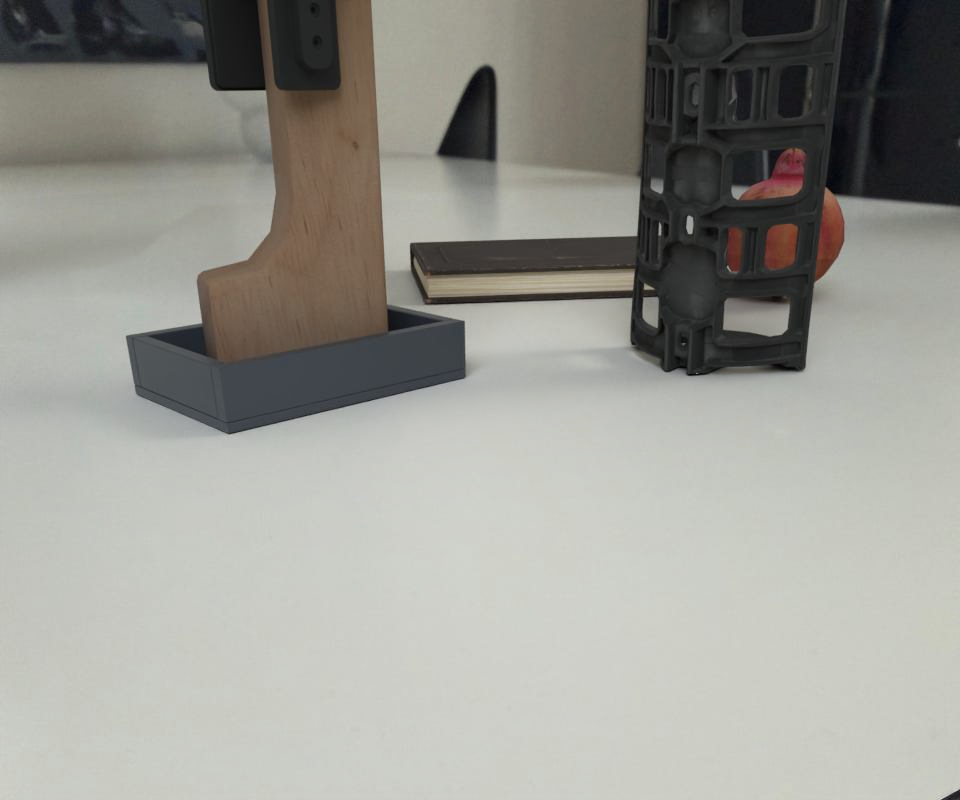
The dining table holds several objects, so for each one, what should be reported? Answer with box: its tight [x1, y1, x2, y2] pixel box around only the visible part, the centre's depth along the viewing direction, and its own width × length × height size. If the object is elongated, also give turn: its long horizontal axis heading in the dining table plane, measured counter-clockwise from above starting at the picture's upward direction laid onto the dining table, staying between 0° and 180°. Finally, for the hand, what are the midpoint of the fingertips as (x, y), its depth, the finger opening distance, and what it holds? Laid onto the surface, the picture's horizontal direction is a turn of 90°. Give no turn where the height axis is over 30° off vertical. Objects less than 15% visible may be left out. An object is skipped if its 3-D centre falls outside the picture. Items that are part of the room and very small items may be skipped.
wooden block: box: [196, 0, 388, 363], centre depth 49 cm, size 9×4×18 cm, turn 111°
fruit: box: [727, 148, 845, 302], centre depth 71 cm, size 8×8×10 cm
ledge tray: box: [125, 303, 467, 434], centre depth 53 cm, size 10×15×3 cm, turn 132°
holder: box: [629, 0, 848, 375], centre depth 52 cm, size 11×8×20 cm
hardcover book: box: [409, 234, 728, 305], centre depth 81 cm, size 16×23×2 cm
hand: (274, 85), depth 47 cm, fingers closed on wooden block, 5 cm apart
